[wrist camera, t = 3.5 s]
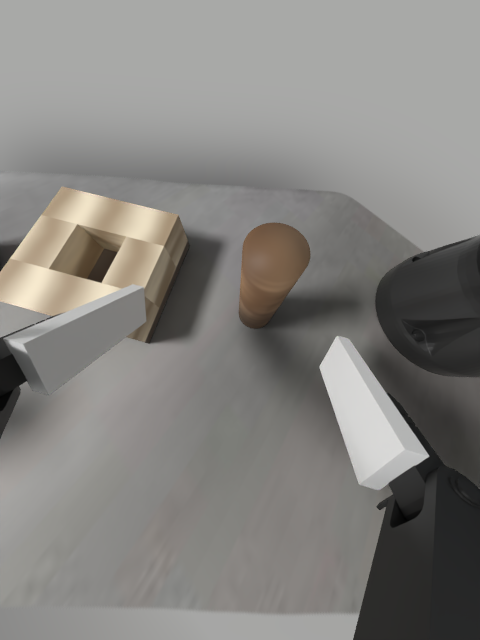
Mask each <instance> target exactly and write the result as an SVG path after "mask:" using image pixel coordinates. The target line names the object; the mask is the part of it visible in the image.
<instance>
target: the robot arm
mask: <svg viewBox="0 0 480 640" xmlns="http://www.w3.org/2000/svg"><path fill="white" fill-rule="evenodd" d="M376 311H377V316H378V319H379V322H380V325H381V327H382V329H383V331H384V333H385V334H386V336H387V338H388V339H389V340H390V342H391V343H392V344H393V346H394V347H395V348H396V349H397V350H398V351H399V352H400V353H401V354H402V355H403V356H405V357H406V358H407V359H408V360H410V361H411V362H413V363H414V364H416V365H417V366H419V367H421V368H423V369H425V370H427V371H430V372H433V373H436V374H440V375H444V376H456V377H480V235H478V236H475V237H472V238H469V239H465V240H462V241H459V242H456V243H453V244H449V245H446V246H443V247H440V248H437V249H434V250H431V251H428V252H424V253H420V254H417V255H415V256H413V257H410V258H408V259H407V260H405V261H403V262H402V263H400V264H399V265H397V266H396V267H394V268H392V269H391V270H390V271H389V272H387V273H386V274H385V276H384V277H383V278H382V280H381V282H380V283H379V286H378V289H377V293H376ZM145 322H146V310H145V296H144V287H142V286H138V285H134V284H132V285H130V286H128V287H125V288H123V289H120V290H118V291H116V292H113V293H111V294H108V295H106V296H104V297H101V298H99V299H96V300H94V301H92V302H89V303H87V304H84V305H82V306H80V307H77V308H75V309H72V310H70V311H68V312H65V313H60V314H57V315H55V316H52V317H50V318H47V319H46V320H43V321H40V322H38V323H36V324H33V325H30V326H28V327H25V328H23V329H21V330H18V331H16V332H13V333H11V334H8V335H6V336H4V337H1V338H0V438H1V435H2V433H3V431H4V429H5V426H6V424H7V422H8V420H9V418H10V415H11V413H12V411H13V409H14V406H15V404H16V402H17V400H18V397H19V395H20V390H21V389H20V387H19V385H21V384H23V383H24V382H26V381H27V382H28V384H29V385H30V387H31V389H32V391H36V392H39V393H43V394H46V395H50V394H52V393H53V392H54V391H55V390H57V389H58V388H59V387H61V386H62V385H63V384H65V383H66V382H67V381H69V380H70V379H71V378H73V377H74V376H75V375H77V374H78V373H79V372H81V371H82V370H83V369H84V368H86V367H87V366H88V365H90V364H91V363H92V362H94V361H95V360H96V359H98V358H99V357H100V356H102V355H103V354H104V353H106V352H107V351H108V350H110V349H111V348H112V347H114V346H115V345H116V344H117V343H119V342H120V341H121V340H123V339H124V338H125V337H127V336H128V335H129V334H131V333H132V332H133V331H135V330H136V329H137V328H139V327H140V326H141V325H143V324H144V323H145ZM319 368H320V371H321V373H322V376H323V379H324V382H325V385H326V388H327V391H328V394H329V397H330V400H331V403H332V406H333V409H334V412H335V415H336V418H337V421H338V424H339V427H340V430H341V433H342V436H343V438H344V441H345V444H346V447H347V450H348V453H349V456H350V459H351V462H352V465H353V468H354V471H355V474H356V477H357V480H358V483H359V485H362V486H365V487H369V488H372V489H376V490H380V489H382V488H383V487H385V486H386V485H388V484H389V486H390V488H391V490H392V492H393V495H392V496H390V497H388V498H387V499H385V500H383V501H382V502H380V503H379V504H378V505H377V508H378V509H379V510H381V509H382V508H384V507H386V511H385V514H384V519H383V523H382V527H381V531H380V535H379V539H378V543H377V547H376V551H375V554H374V558H373V562H372V566H371V570H370V574H369V578H368V582H367V586H366V590H365V594H364V598H363V602H362V606H361V610H360V614H359V618H358V622H357V626H356V630H355V634H354V638H353V640H480V490H479V489H478V487H477V486H476V485H474V484H473V483H472V482H471V481H470V480H468V479H467V478H466V477H465V476H463V475H462V474H460V473H459V472H457V471H455V470H454V469H451V468H449V467H446V466H445V465H444V464H443V463H442V461H441V460H440V458H439V457H438V456H437V454H436V453H435V451H434V450H433V449H432V447H431V446H430V445H429V443H428V442H427V440H426V439H425V438H424V436H423V435H422V433H421V432H420V431H419V429H418V428H417V427H415V424H414V422H413V421H412V420H411V418H410V417H408V414H407V413H406V411H405V410H404V409H403V407H402V406H401V404H400V403H399V402H397V401H396V400H395V399H394V398H393V397H392V396H391V395H390V394H388V393H386V392H385V391H384V389H383V388H382V386H381V385H380V383H379V382H378V380H377V379H376V378H375V376H374V375H373V373H372V372H371V370H370V369H369V367H368V366H367V364H366V363H365V362H364V360H363V359H362V357H361V356H360V354H359V353H358V351H357V350H356V348H355V347H354V346H353V344H352V343H351V341H350V340H349V339H348V338H344V337H340V336H337V337H336V338H335V340H334V342H333V344H332V345H331V347H330V349H329V351H328V352H327V354H326V356H325V358H324V359H323V361H322V363H321V365H320V366H319Z"/></svg>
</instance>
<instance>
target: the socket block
mask: <svg viewBox="0 0 480 640" xmlns="http://www.w3.org/2000/svg"><path fill="white" fill-rule="evenodd" d="M189 246H190V245H189V242H188V240H187V237H186V234H185V231H184V229H183V226H182V223H181V221H180V218H179V215H176V214H172V213H168V212H164V211H160V210H156V209H152V208H148V207H144V206H140V205H135V204H131V203H127V202H123V201H119V200H115V199H111V198H107V197H103V196H99V195H94V194H90V193H86V192H82V191H78V190H74V189H70V188H66V187H61V189H60V190H59V191H58V193H57V194H56V196H55V197H54V198H53V200H52V201H51V202H50V204H49V205H48V207H47V208H46V209H45V211H44V212H43V214H42V215H41V216H40V218H39V219H38V220H37V222H36V223H35V225H34V226H33V227H32V229H31V230H30V232H29V233H28V234H27V236H26V237H25V238H24V240H23V241H22V243H21V244H20V245H19V247H18V248H17V249H16V251H15V252H14V254H13V255H12V256H11V258H10V259H9V261H8V262H7V263H6V265H5V266H4V267H3V269H2V270H1V272H0V301H1V302H5V303H8V304H12V305H15V306H19V307H22V308H25V309H29V310H32V311H36V312H39V313H43V314H46V315H50V316H55V315H57V314H60V313H65V312H68V311H70V310H72V309H75V308H77V307H80V306H82V305H84V304H87V303H89V302H92V301H94V300H96V299H99V298H101V297H104V296H106V295H108V294H111V293H113V292H116V291H118V290H120V289H123V288H125V287H128V286H130V285H132V284H134V285H138V286H142V287H144V296H145V310H146V322H145V323H144V324H143V325H141V326H140V327H139V328H137V329H136V330H135V331H133V332H132V333H131V334H129V335H128V336H127V337H128V338H131V339H135V340H138V341H142V342H145V343H150V340H151V338H152V336H153V333H154V331H155V328H156V326H157V323H158V321H159V319H160V316H161V314H162V311H163V309H164V306H165V304H166V302H167V299H168V297H169V294H170V292H171V290H172V287H173V285H174V282H175V280H176V277H177V275H178V273H179V270H180V268H181V265H182V263H183V260H184V258H185V256H186V253H187V251H188V248H189Z"/></svg>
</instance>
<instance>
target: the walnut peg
mask: <svg viewBox="0 0 480 640" xmlns="http://www.w3.org/2000/svg"><path fill="white" fill-rule="evenodd" d="M309 260H310V248H309V245H308V242H307V240H306V239H305V237H304V236H303V235H302V234H301V233H300V232H299V231H297V230H296V229H295V228H293V227H291V226H288V225H285V224H281V223H266V224H263V225H260V226H258V227H256V228H254V229H253V230H252V231H251V232H250V233H249V234H248V235H247V237H246V238H245V240H244V243H243V251H242V268H241V285H240V302H239V317H240V320H241V321H242V323H243V324H244V325H246V326H247V327H250V328H254V329H257V328H261V327H263V326H265V325H266V324H267V323H268V322H269V320H270V319H271V318H272V316H273V315H274V313H275V312H276V310H277V309H278V307H279V306H280V305H281V303H282V302H283V300H284V299H285V297H286V296H287V295H288V293H289V292H290V290H291V289H292V287H293V286H294V285H295V283H296V282H297V280H298V279H299V277H300V276H301V275H302V273H303V272H304V270H305V269H306V267H307V266H308V263H309Z"/></svg>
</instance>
